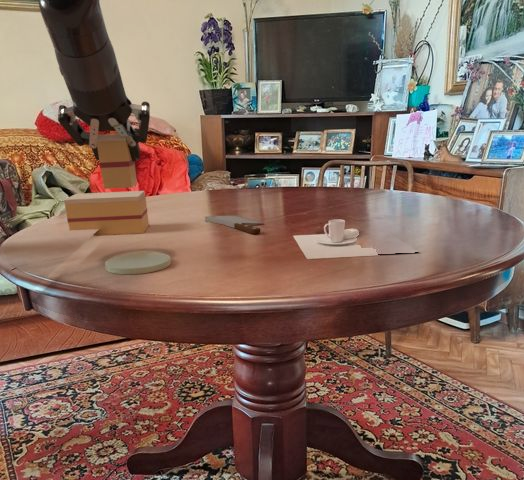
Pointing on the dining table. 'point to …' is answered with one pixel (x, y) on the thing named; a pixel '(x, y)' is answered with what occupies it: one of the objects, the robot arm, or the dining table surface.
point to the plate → (138, 263)
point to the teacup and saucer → (333, 243)
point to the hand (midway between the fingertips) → (119, 158)
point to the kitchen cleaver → (236, 223)
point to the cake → (108, 212)
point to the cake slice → (115, 162)
